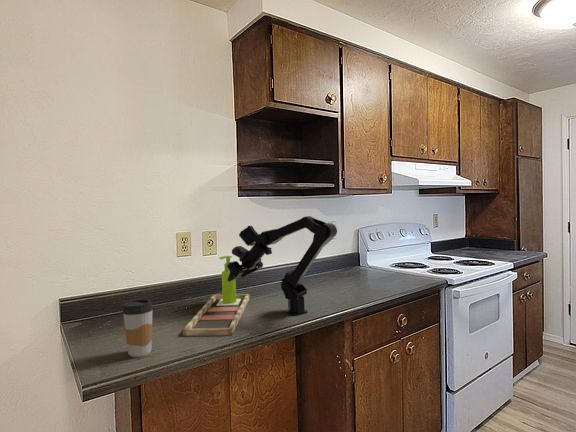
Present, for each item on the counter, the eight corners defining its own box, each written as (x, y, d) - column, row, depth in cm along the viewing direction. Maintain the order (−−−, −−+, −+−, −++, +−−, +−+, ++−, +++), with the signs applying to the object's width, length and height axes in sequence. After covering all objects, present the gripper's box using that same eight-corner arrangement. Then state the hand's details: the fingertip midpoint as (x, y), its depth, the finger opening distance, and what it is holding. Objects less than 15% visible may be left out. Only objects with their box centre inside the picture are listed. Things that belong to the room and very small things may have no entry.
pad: (237, 305, 151) (237, 304, 151) (216, 305, 151) (216, 304, 151) (241, 299, 160) (241, 298, 160) (220, 299, 160) (220, 299, 160)
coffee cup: (145, 344, 111) (143, 297, 111) (160, 351, 106) (158, 301, 105) (119, 354, 105) (116, 303, 104) (133, 361, 100) (130, 308, 99)
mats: (234, 319, 133) (234, 319, 133) (200, 320, 133) (200, 319, 133) (240, 307, 148) (240, 307, 148) (210, 308, 148) (210, 307, 148)
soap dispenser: (218, 302, 155) (216, 256, 154) (231, 299, 159) (230, 254, 159) (225, 305, 150) (223, 257, 150) (239, 301, 155) (237, 255, 154)
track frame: (231, 335, 118) (231, 329, 118) (182, 335, 118) (182, 330, 118) (249, 298, 162) (249, 293, 161) (213, 299, 162) (213, 294, 162)
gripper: (256, 237, 158) (237, 261, 164) (229, 242, 142) (209, 268, 148) (272, 256, 155) (251, 279, 160) (246, 263, 138) (225, 289, 144)
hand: (235, 278), depth 153 cm, fingers open, 9 cm apart
